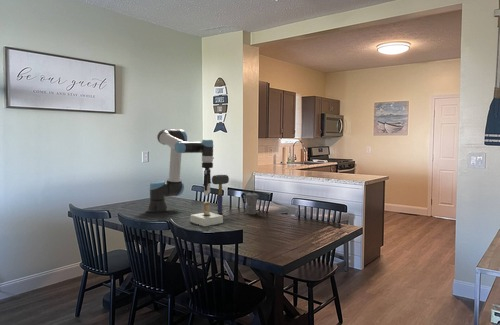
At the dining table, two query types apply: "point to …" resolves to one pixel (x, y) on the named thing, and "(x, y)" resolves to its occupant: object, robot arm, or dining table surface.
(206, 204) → the beech peg
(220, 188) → the rubber mallet
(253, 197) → the coffeepot
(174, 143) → the robot arm
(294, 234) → the dining table surface
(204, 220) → the socket block
